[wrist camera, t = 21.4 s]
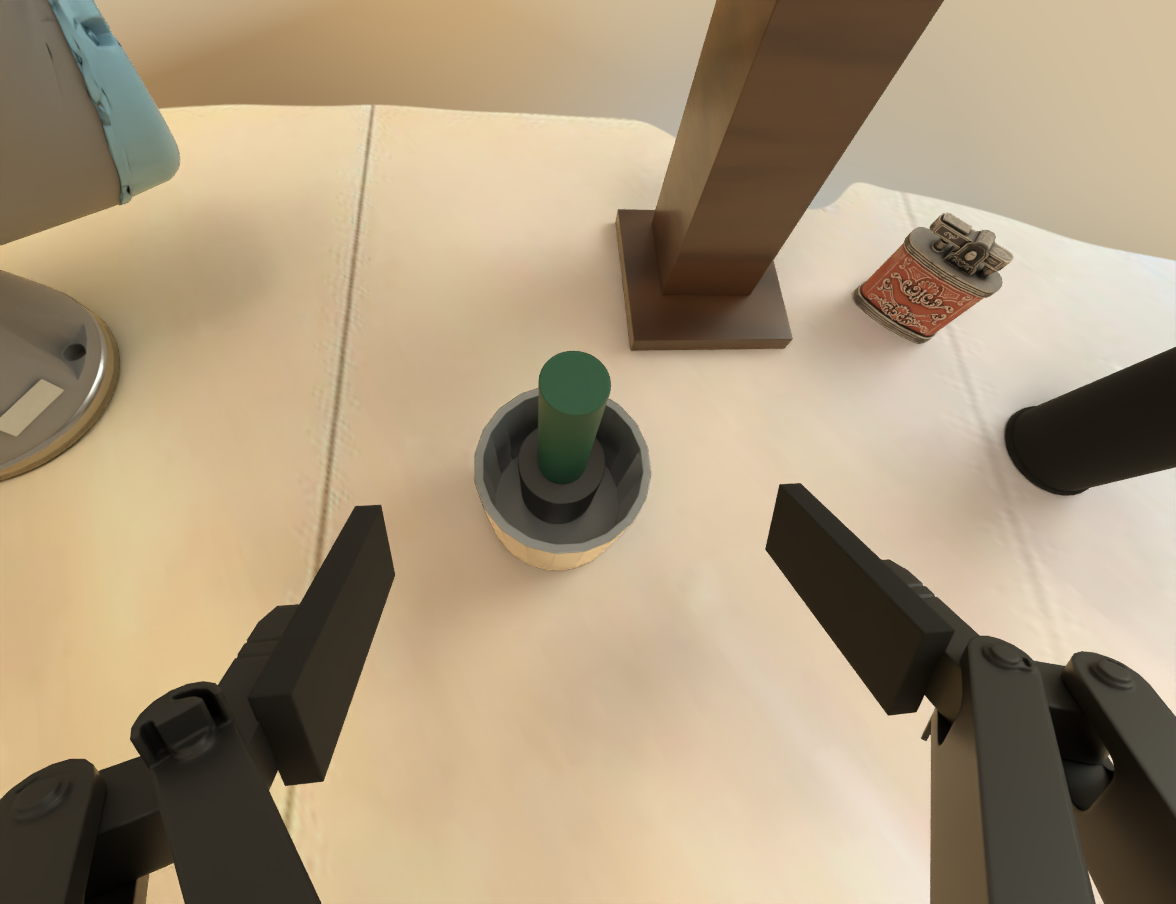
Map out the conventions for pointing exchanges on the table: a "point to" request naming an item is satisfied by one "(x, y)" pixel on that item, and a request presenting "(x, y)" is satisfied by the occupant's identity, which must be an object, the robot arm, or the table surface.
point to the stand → (754, 163)
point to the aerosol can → (1100, 430)
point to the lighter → (933, 278)
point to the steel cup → (607, 510)
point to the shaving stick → (565, 439)
